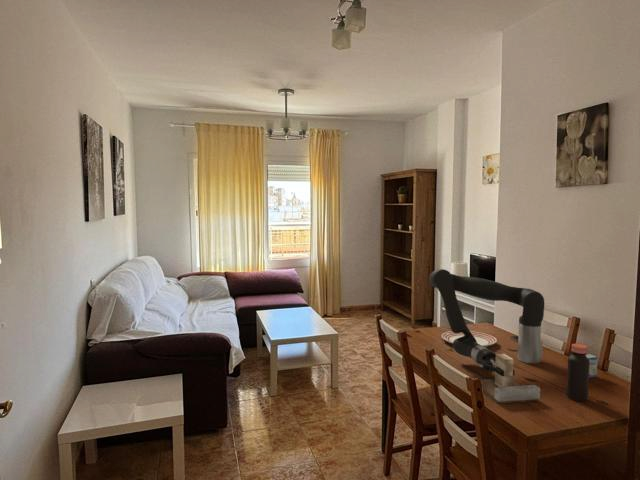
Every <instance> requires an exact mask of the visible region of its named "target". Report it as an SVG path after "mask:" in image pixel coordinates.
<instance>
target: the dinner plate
mask: <svg viewBox="0 0 640 480" xmlns="http://www.w3.org/2000/svg"><path fill="white" fill-rule="evenodd" d="M469 331H470V332H471V334H472V335H473V336H474V338H475V339H476V341H477V343H478V344H480V345H481V346H483V347H485V348H487V347H490V346H493V345H495V344H496V343H497V341H498V340H497V338H496V337H495V336H492V335H490V334H488V333H484V332H479V331H472V330H469ZM463 336H464V334H463V333H453V332H452V330H451V331H446V332H444V333H442V334H441V338H442V339H443V340H445V341H446V342H447V343H450V344H452V345H453V341H454V340H455V339H457V338H460V337H463Z"/></svg>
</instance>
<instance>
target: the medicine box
mask: <svg viewBox="0 0 640 480" xmlns="http://www.w3.org/2000/svg"><path fill="white" fill-rule="evenodd" d="M586 357H587V358H588V359H589V361H590V365H589V379H591V378H596V377H598V356H596V355H593V354H590V353H587V354H586Z"/></svg>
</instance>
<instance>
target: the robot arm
mask: <svg viewBox="0 0 640 480" xmlns="http://www.w3.org/2000/svg"><path fill="white" fill-rule="evenodd" d="M428 276H429V277H428V280H429V283H430V285H431V286H432V287H433V288H435V289H437V290H438V291H439V293H440V295H441V298H442V300H443V301H442V302H443V305H444V310H445V315H446V319H447V322H448V324H449V327H450V330H451V331H452V332H453V333H463V334H464V336H463V337H460V338H457V339H455V340H454V341H453V344H452V347H453V350H454V351H455V352H456V354H459V355H460V356H463V357H468V358H470V359H472V360H473V361H474V362H475V364H476V363H477V364H478V368H479V369H481V370H483V371H485V372H488V373H494V374H495V373H498V374H499V375H501V376H504V370H502V369H501V368H499V367H498V366H497V365H495V364H496V354H497V353H496V352H493V351H492V350H490V349H489V348H487V347H483V346H481V345H480V344H478V343H477V341H476V339H475V338H474V336H473V335H472V334H471V332H470V331H471V330H470V329H469V327H468V325H467V324H466V321H465V318H464V315H463V313H462V309H461V307H460V304H459V301H458V299H457V295H456V292H459V293H461V294H463V295H464V294H465V295H467V296H470V297H475V298H479V299H482V300H487V301H493V302H495V301H496V302H497V301H498V302H499V301H501V302H502V301H504V302H508V303H512V304H515V305H518V306H520V307H522V315H520V316H519V318H518V335H517V336H518V342H517V359H518V361H520V362H523V363H527V364H538V363H541V362H543V361H542V360H543V341H542V339H541V335H542V322H543V319H544V315H545V314H544V313H545V298H544V296H543V294H542V293H540V292H538V291H536V290H534V289H532V288H526V287H517V286H511V285H510V286H509V285H506V284H504V283H501V282H497V281H494V280H492V279H491V280H489V279H485V278H480V277H474V276H473V277H472V276H463V275H462V276H461V275H456V274H453V273H451V272H450V271H448V270H447V269H445V268H439V269H436V270H433V271H432V272H431V273H430V274H429V275H428ZM513 376H515V370H514V369H513Z"/></svg>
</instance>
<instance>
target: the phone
mask: <svg viewBox="0 0 640 480" xmlns="http://www.w3.org/2000/svg"><path fill="white" fill-rule="evenodd" d="M509 339H510V340H513V341H514V342H516V343H518V335H512V336H510V337H509Z"/></svg>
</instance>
